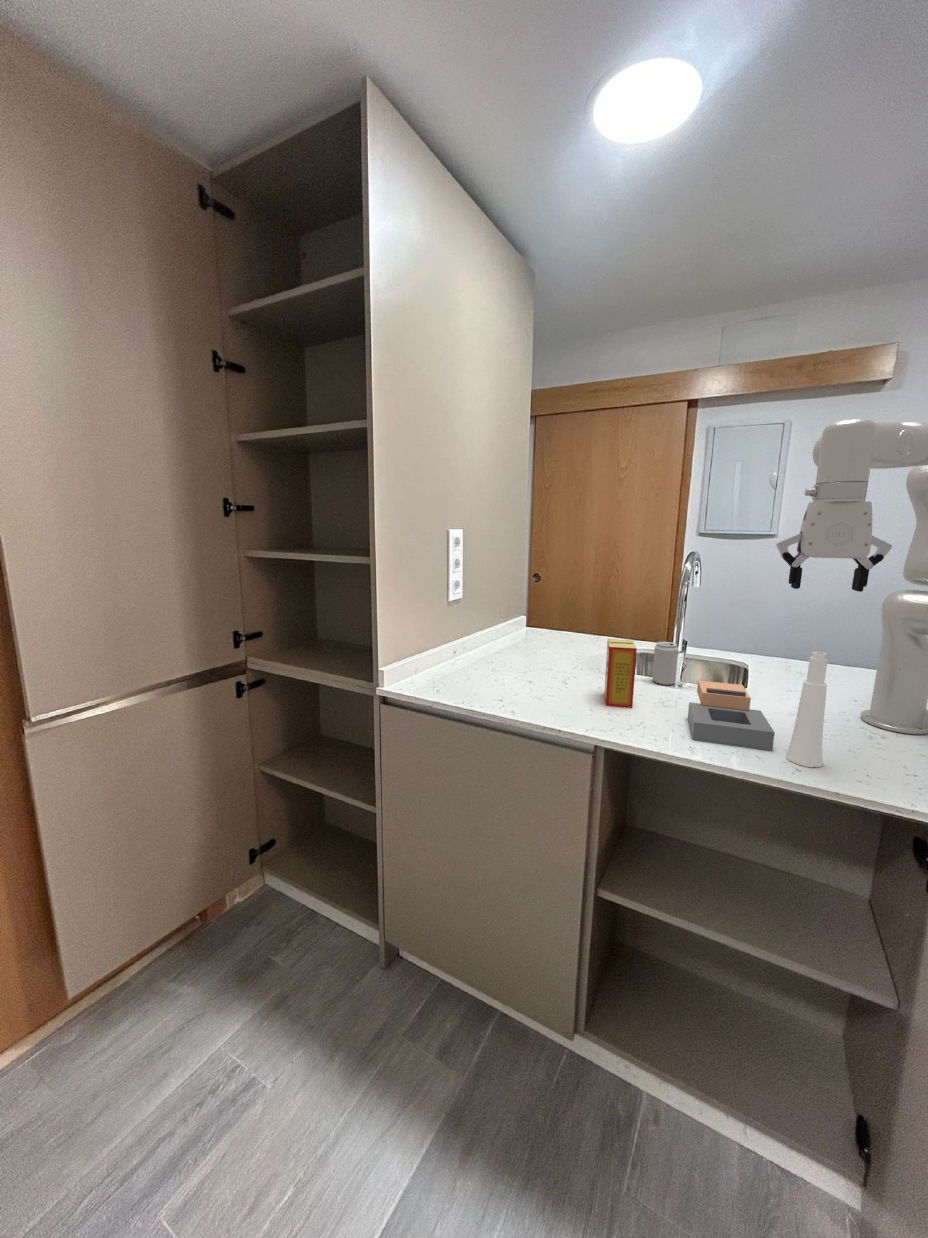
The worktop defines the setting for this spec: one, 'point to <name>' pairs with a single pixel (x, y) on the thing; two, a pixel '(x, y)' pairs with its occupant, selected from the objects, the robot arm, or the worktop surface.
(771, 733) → the socket block
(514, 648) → the worktop surface
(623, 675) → the baking soda box
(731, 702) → the orange slotted box
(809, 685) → the cosmetic bottle
